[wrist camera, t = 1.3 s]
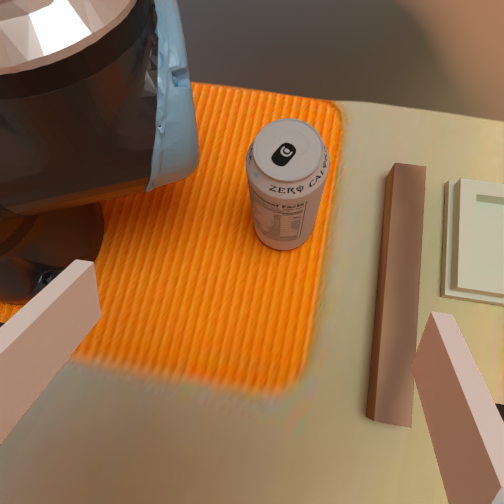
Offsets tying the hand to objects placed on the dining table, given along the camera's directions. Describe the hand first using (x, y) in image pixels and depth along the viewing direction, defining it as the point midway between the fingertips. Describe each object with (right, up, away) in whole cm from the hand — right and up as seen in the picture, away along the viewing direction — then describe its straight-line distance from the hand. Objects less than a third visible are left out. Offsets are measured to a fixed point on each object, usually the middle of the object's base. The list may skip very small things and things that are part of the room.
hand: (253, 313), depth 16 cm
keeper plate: (+25, +3, +24) cm, 35 cm away
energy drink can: (+3, +5, +26) cm, 27 cm away
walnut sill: (+14, -1, +23) cm, 27 cm away
